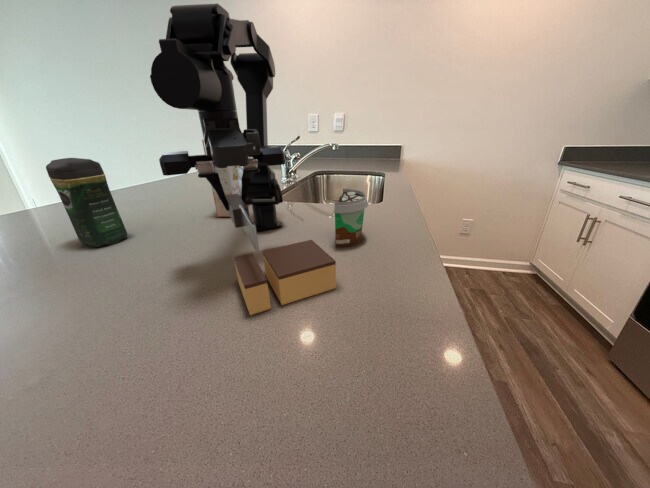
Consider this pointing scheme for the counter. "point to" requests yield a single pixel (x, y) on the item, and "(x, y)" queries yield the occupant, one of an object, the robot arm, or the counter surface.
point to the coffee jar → (87, 200)
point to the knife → (242, 218)
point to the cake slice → (252, 283)
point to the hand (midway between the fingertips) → (235, 208)
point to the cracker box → (225, 186)
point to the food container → (349, 217)
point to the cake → (299, 270)
